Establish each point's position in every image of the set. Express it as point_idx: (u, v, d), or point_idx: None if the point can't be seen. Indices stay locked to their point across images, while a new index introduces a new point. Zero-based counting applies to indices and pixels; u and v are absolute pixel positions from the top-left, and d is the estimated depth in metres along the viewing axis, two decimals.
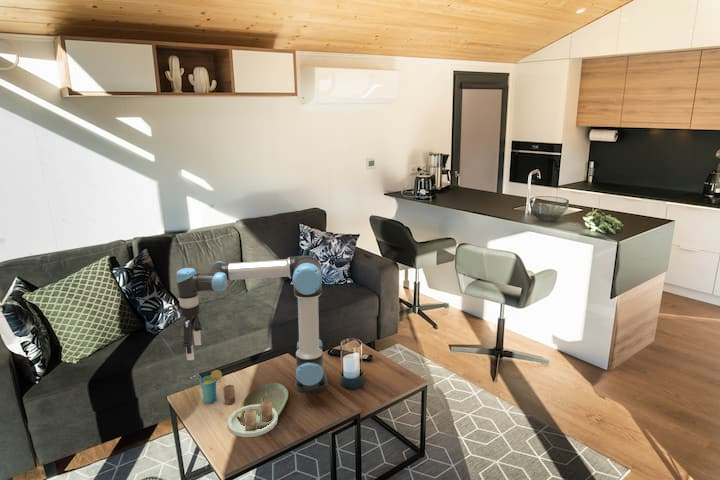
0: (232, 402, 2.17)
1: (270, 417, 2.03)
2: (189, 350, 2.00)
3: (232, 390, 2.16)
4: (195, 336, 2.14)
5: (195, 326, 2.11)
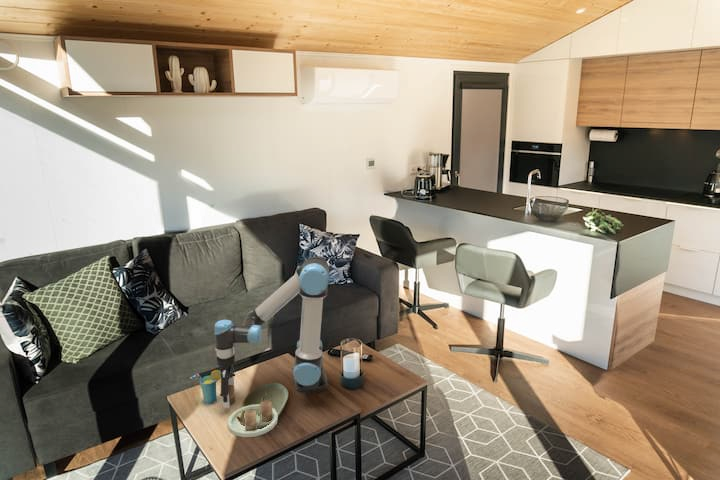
0: (232, 402, 2.17)
1: (270, 417, 2.03)
2: (225, 399, 2.09)
3: (232, 390, 2.16)
4: (229, 382, 2.23)
5: (229, 373, 2.21)
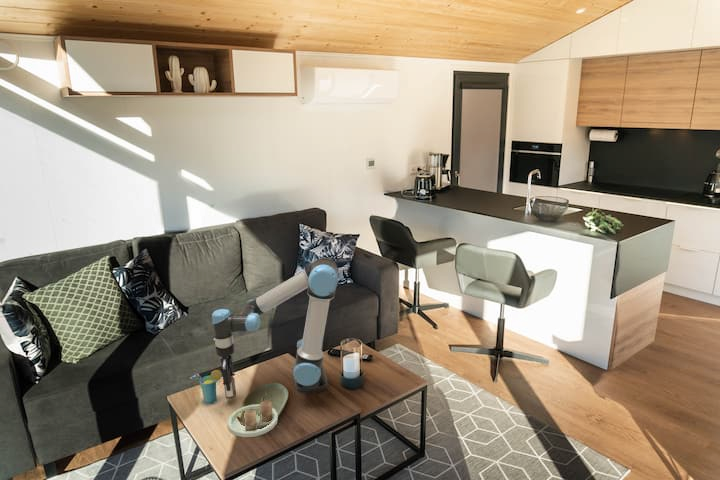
0: (233, 394, 2.16)
1: (270, 417, 2.03)
2: (228, 387, 2.13)
3: (232, 382, 2.15)
4: None
5: None
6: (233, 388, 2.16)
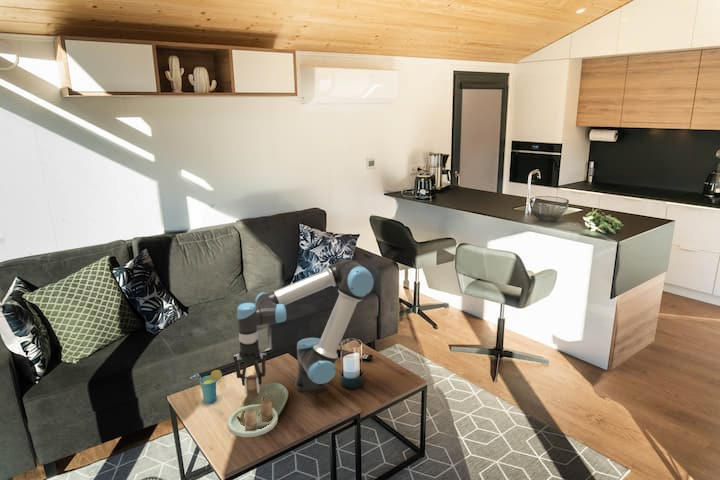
0: (247, 393, 2.06)
1: (270, 417, 2.03)
2: (242, 382, 2.05)
3: (247, 381, 2.04)
4: None
5: None
6: (248, 388, 2.05)
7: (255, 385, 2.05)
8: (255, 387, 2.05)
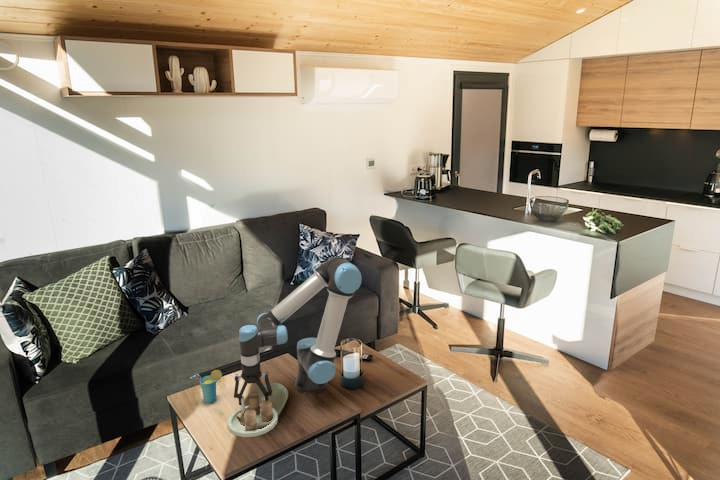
0: None
1: (270, 417, 2.03)
2: (239, 401, 2.07)
3: (249, 400, 2.06)
4: None
5: None
6: (250, 406, 2.07)
7: (257, 404, 2.07)
8: (257, 406, 2.07)
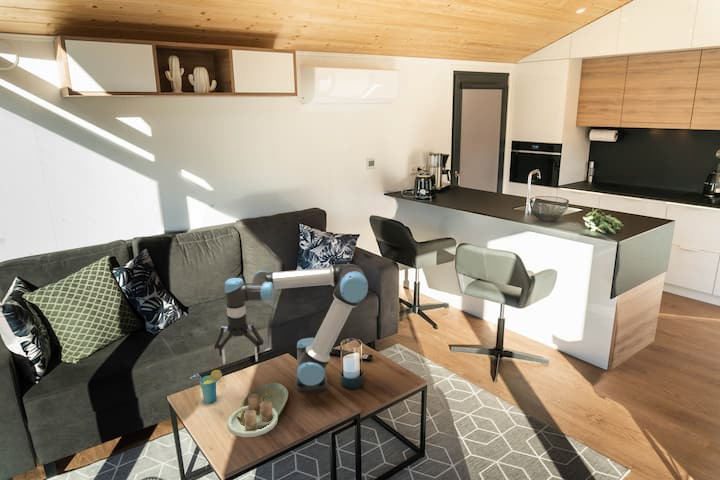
0: None
1: (270, 417, 2.03)
2: None
3: (249, 400, 2.06)
4: None
5: None
6: (250, 406, 2.07)
7: (257, 404, 2.07)
8: (257, 406, 2.07)
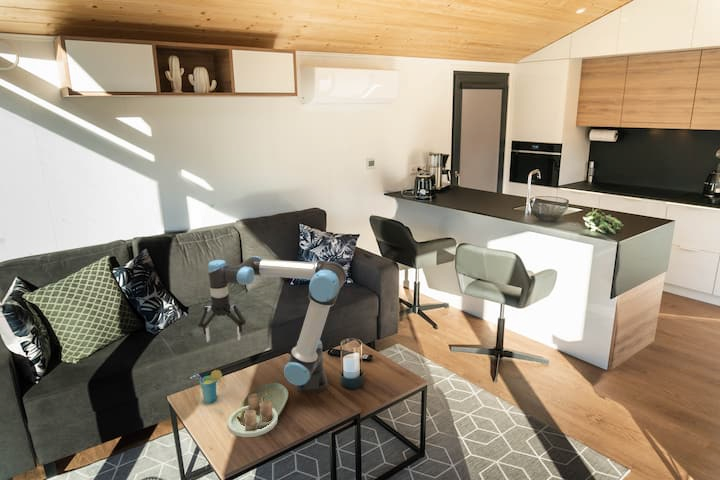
0: None
1: (270, 417, 2.03)
2: None
3: (249, 400, 2.06)
4: None
5: None
6: (250, 406, 2.07)
7: (257, 404, 2.07)
8: (257, 406, 2.07)
